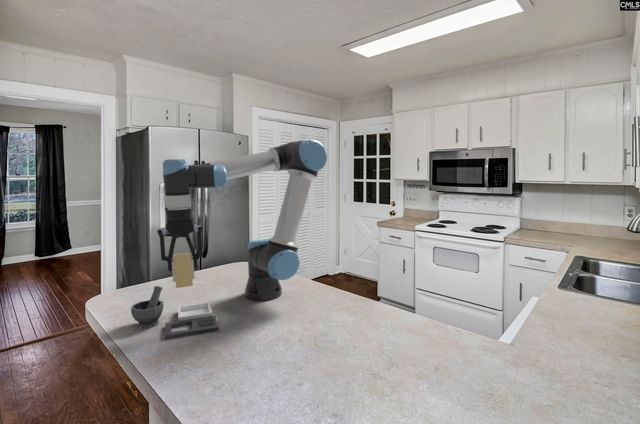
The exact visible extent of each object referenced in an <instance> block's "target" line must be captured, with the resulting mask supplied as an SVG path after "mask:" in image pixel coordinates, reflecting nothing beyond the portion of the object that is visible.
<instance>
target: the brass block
mask: <svg viewBox="0 0 640 424" xmlns="http://www.w3.org/2000/svg"><path fill="white" fill-rule="evenodd" d="M191 255H192V254H191V251H190V252H189V251H187V252H178V253H173V260H174V267H175V280H176V282H175V288H185V287H192V286H193V285H194V284H193V279H192V267H191V258H192V257H191Z"/></svg>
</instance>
